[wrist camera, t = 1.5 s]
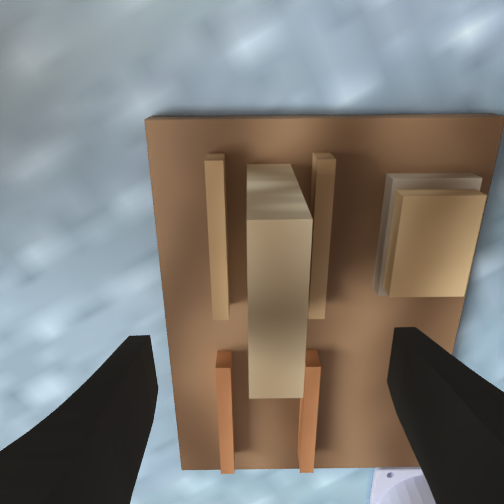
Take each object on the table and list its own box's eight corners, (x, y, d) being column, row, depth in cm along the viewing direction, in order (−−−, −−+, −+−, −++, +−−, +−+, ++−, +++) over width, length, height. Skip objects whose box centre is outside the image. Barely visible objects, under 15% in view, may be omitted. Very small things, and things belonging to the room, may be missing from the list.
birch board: (290, 163, 20) (312, 219, 13) (286, 295, 23) (303, 398, 16) (247, 164, 20) (246, 219, 13) (248, 296, 23) (249, 398, 16)
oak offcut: (475, 188, 19) (486, 195, 18) (454, 286, 21) (464, 296, 21) (395, 189, 19) (403, 196, 18) (382, 287, 21) (388, 297, 20)
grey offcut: (472, 172, 20) (482, 177, 19) (448, 285, 23) (456, 294, 22) (386, 173, 20) (393, 178, 19) (372, 286, 23) (377, 295, 22)
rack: (491, 113, 20) (525, 121, 18) (419, 451, 29) (435, 487, 27) (150, 116, 20) (136, 124, 18) (184, 454, 29) (178, 491, 27)
